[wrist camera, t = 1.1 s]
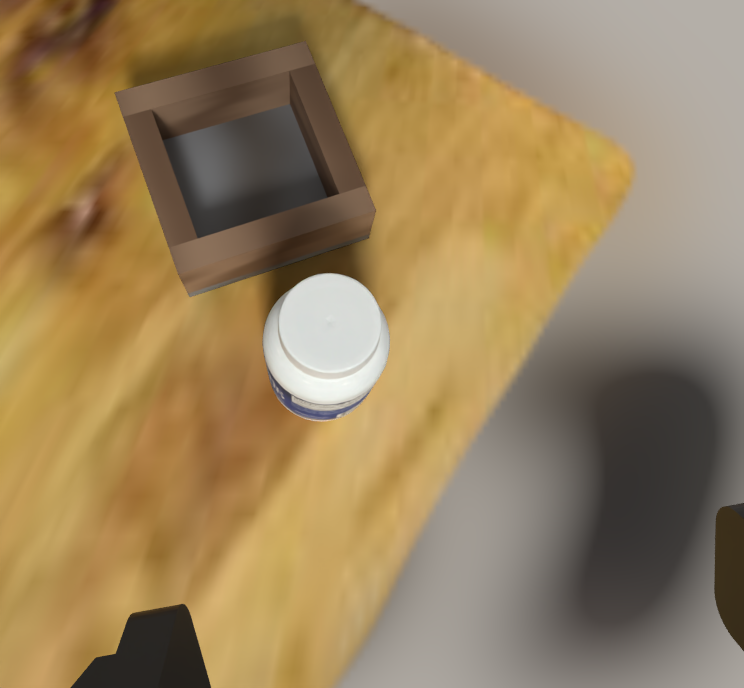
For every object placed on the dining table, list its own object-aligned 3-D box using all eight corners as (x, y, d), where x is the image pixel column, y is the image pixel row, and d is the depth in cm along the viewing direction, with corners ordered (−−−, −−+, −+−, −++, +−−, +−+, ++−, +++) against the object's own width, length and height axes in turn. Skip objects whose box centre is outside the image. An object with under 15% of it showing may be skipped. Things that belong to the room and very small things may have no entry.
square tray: (189, 297, 36) (178, 274, 32) (131, 131, 38) (114, 92, 34) (368, 238, 38) (376, 210, 34) (304, 82, 39) (305, 41, 36)
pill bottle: (271, 318, 36) (262, 251, 27) (373, 322, 37) (400, 258, 27) (265, 421, 35) (254, 389, 25) (372, 424, 35) (399, 394, 26)
